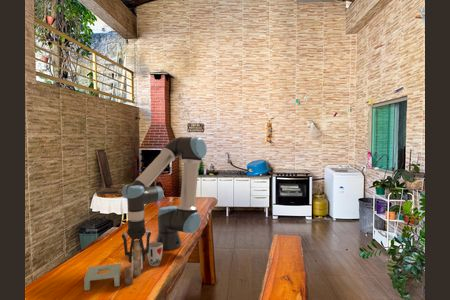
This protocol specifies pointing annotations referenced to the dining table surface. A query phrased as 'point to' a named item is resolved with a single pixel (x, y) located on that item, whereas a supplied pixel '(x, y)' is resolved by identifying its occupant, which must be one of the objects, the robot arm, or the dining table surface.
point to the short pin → (128, 276)
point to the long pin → (137, 258)
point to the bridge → (103, 274)
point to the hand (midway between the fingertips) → (137, 268)
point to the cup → (155, 253)
